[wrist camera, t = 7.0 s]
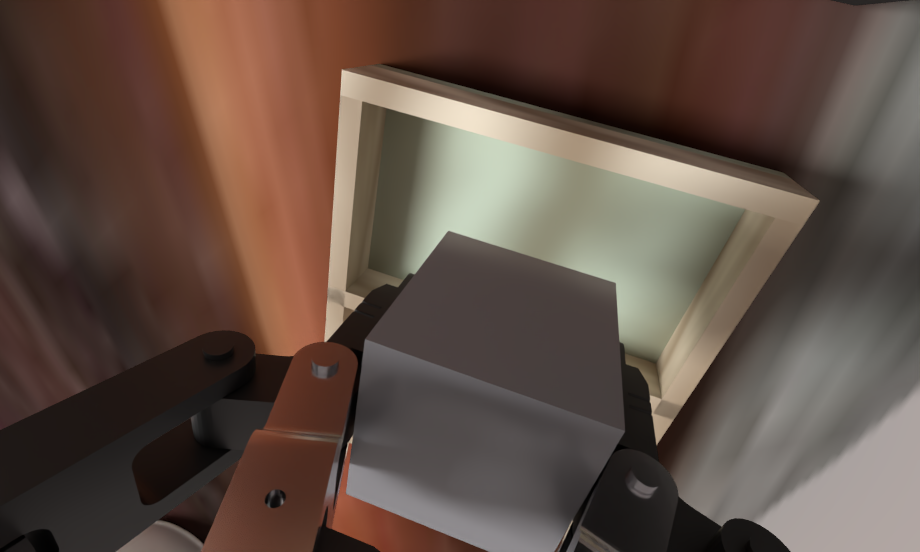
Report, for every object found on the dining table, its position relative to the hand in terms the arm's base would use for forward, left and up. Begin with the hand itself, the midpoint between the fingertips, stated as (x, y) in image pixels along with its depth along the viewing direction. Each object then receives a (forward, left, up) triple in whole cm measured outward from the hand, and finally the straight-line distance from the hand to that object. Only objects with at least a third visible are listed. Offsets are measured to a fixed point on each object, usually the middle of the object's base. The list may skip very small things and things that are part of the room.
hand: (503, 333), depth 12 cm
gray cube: (0, 0, -1) cm, 1 cm away
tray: (0, -4, -8) cm, 9 cm away
